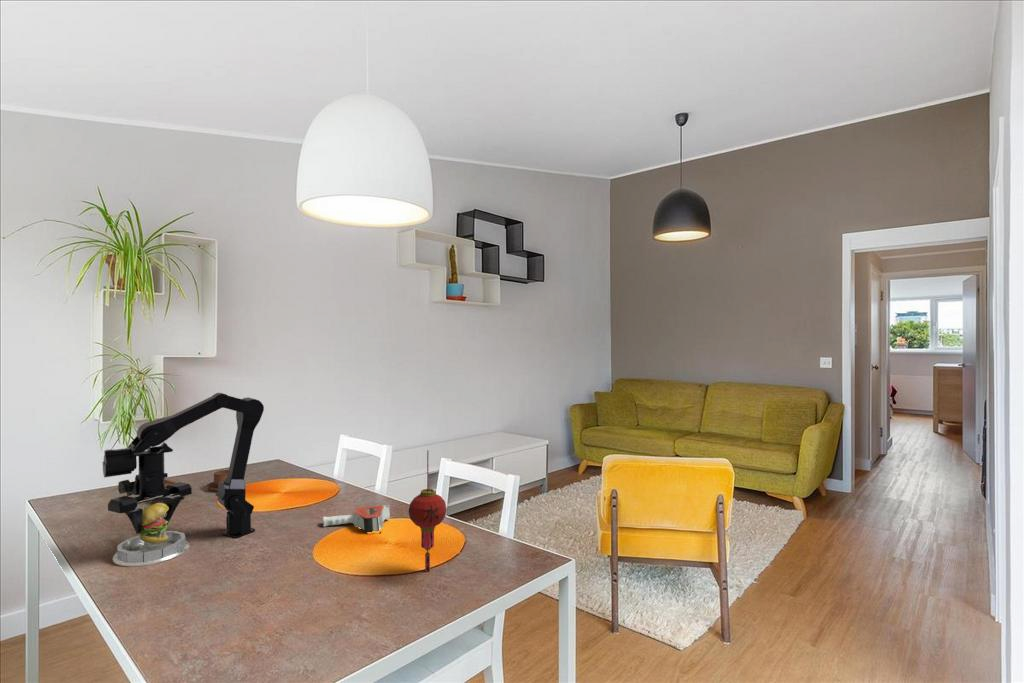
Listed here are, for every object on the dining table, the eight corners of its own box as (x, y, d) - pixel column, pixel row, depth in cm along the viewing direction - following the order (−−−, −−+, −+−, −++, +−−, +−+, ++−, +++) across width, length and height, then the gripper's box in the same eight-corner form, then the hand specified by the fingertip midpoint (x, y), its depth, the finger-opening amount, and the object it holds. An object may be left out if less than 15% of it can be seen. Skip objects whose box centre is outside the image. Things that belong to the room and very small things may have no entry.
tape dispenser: (318, 531, 167) (355, 543, 154) (316, 513, 167) (354, 524, 154) (367, 513, 181) (405, 523, 168) (365, 497, 181) (404, 506, 168)
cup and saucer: (210, 485, 209) (210, 469, 209) (245, 483, 213) (245, 467, 213) (203, 494, 198) (203, 477, 198) (239, 491, 202) (239, 475, 202)
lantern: (405, 565, 138) (405, 447, 138) (441, 560, 142) (442, 445, 141) (412, 582, 129) (412, 455, 129) (450, 575, 133) (451, 452, 132)
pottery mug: (148, 501, 191) (161, 478, 194) (177, 510, 194) (189, 487, 198) (148, 501, 181) (161, 477, 184) (178, 510, 185) (191, 486, 188)
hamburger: (169, 545, 144) (169, 500, 144) (136, 551, 141) (135, 505, 140) (168, 536, 151) (168, 493, 151) (137, 541, 147) (136, 497, 147)
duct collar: (203, 547, 150) (203, 535, 150) (138, 571, 134) (138, 559, 134) (164, 536, 157) (164, 526, 157) (98, 559, 142) (98, 547, 142)
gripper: (167, 459, 157) (168, 513, 157) (94, 475, 140) (95, 535, 141) (192, 464, 152) (193, 519, 153) (120, 480, 135) (121, 543, 136)
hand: (152, 528), depth 146 cm, fingers closed on hamburger, 7 cm apart
